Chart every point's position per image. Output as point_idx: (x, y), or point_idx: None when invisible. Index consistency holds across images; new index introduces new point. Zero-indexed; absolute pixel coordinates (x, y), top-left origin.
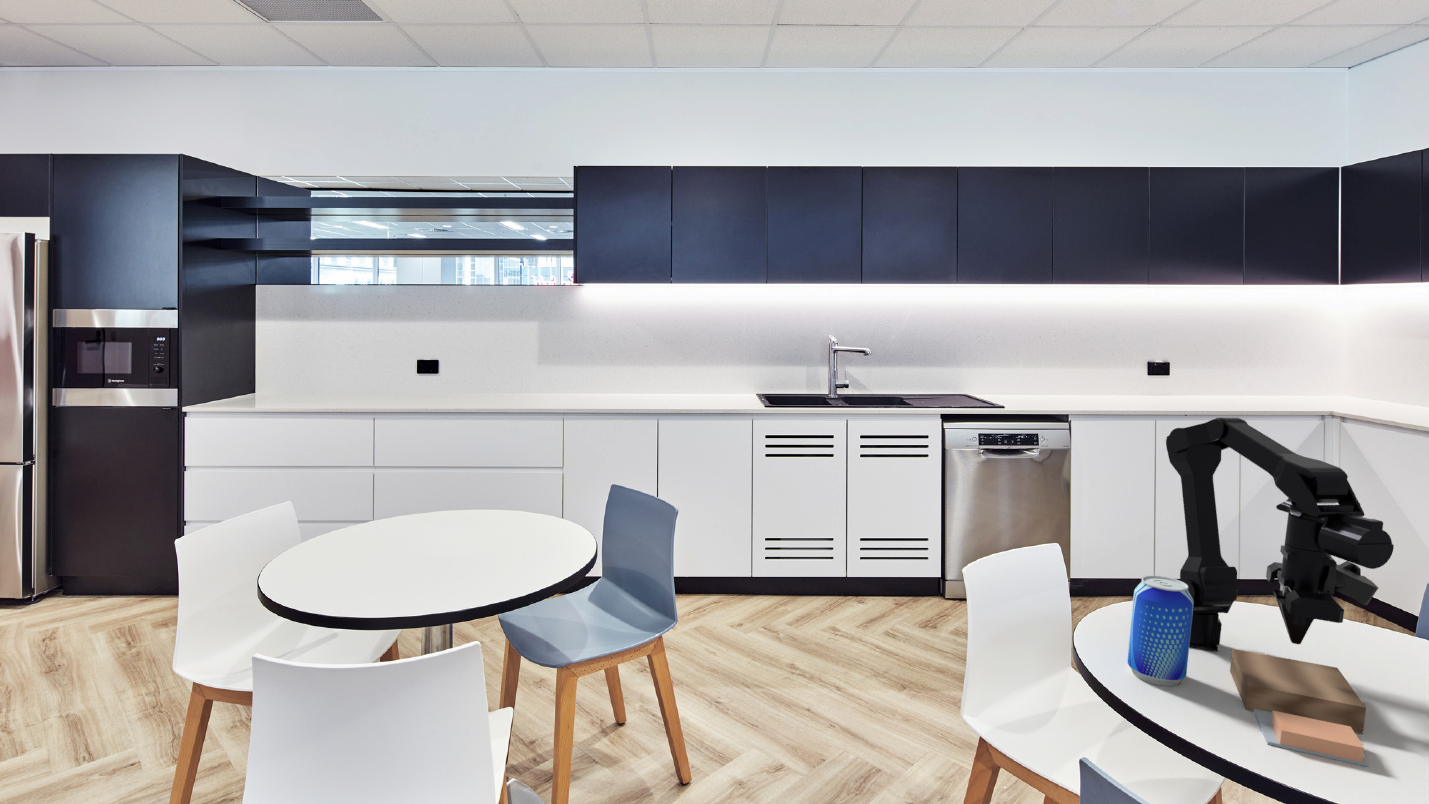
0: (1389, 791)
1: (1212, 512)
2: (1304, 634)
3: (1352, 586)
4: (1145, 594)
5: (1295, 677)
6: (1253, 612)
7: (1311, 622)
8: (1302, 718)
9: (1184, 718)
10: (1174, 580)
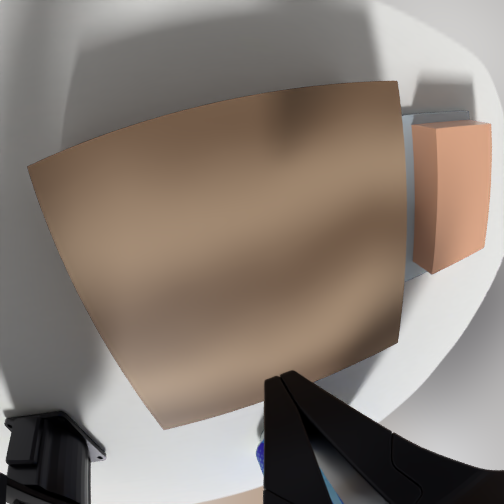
0: (499, 101)
1: None
2: (348, 405)
3: None
4: None
5: (279, 278)
6: None
7: (435, 454)
8: (443, 222)
9: (426, 349)
10: None
